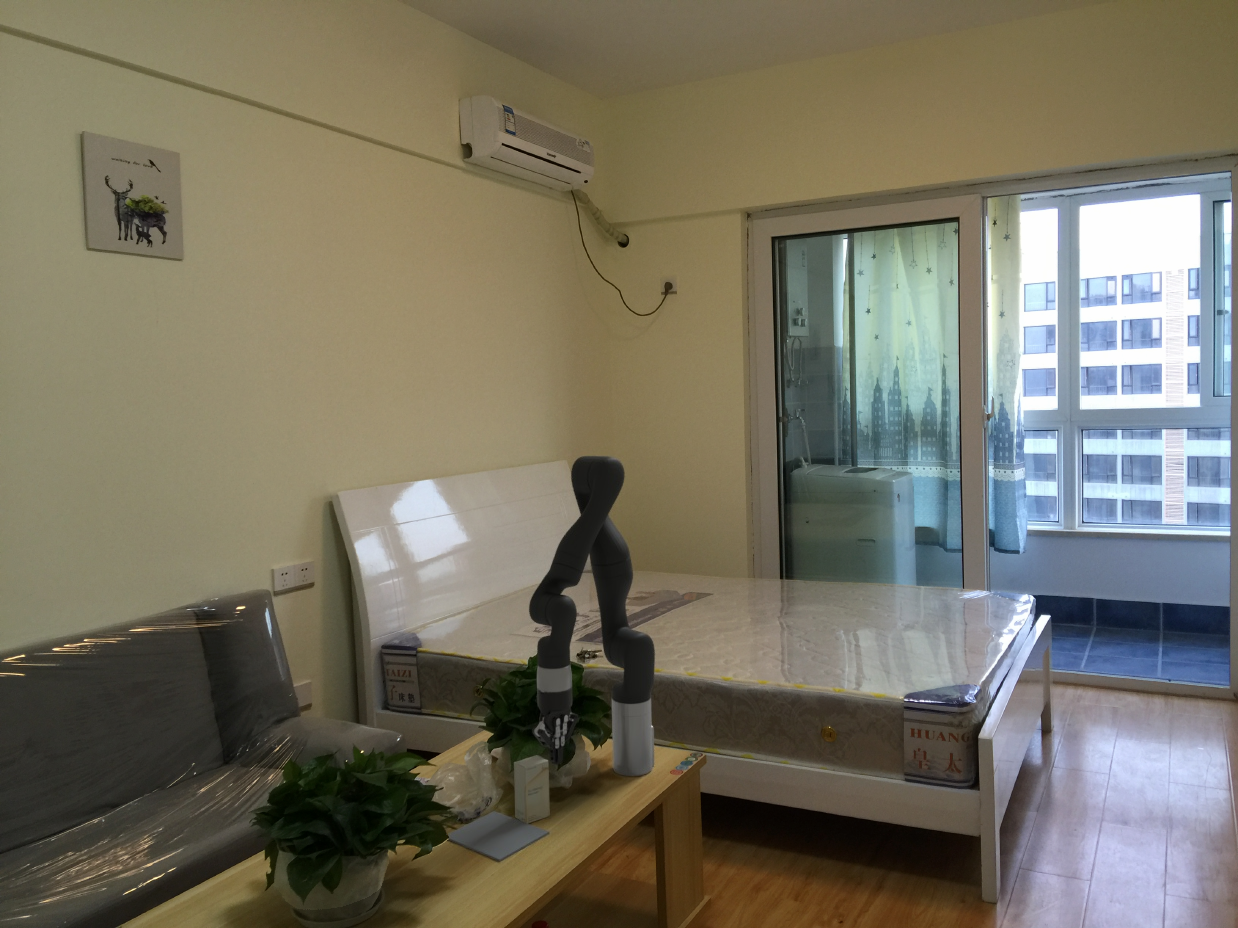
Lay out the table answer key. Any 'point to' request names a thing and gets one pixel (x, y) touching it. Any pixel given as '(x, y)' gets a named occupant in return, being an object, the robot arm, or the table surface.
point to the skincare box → (531, 789)
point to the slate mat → (497, 835)
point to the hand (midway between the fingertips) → (556, 762)
